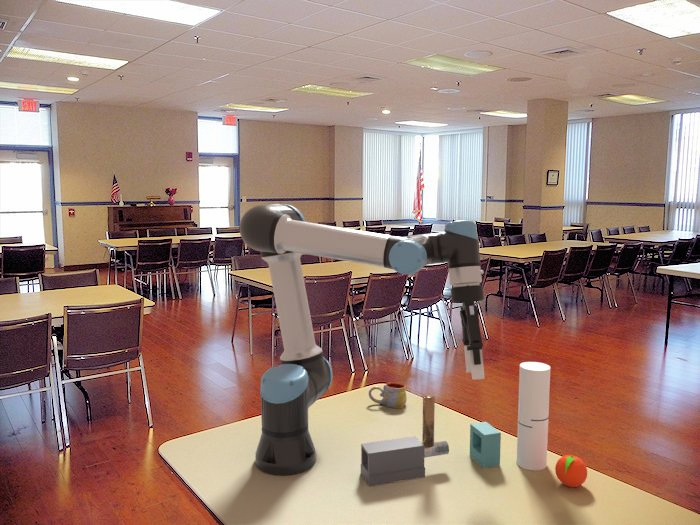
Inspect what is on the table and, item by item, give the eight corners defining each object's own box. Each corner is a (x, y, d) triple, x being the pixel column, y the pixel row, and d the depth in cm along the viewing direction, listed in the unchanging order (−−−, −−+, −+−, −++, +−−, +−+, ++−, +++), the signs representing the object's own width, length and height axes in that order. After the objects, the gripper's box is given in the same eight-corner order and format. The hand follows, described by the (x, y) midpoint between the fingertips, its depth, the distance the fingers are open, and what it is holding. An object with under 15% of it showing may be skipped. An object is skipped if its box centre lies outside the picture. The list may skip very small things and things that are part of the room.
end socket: (469, 455, 148) (470, 423, 147) (485, 453, 149) (486, 421, 148) (483, 468, 141) (484, 435, 140) (499, 465, 142) (500, 432, 141)
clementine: (580, 498, 127) (582, 467, 126) (549, 488, 131) (550, 459, 130) (590, 483, 134) (591, 454, 133) (559, 474, 138) (561, 446, 137)
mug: (407, 401, 185) (407, 381, 185) (405, 409, 179) (405, 389, 178) (370, 399, 187) (370, 380, 186) (367, 407, 181) (367, 387, 180)
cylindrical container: (548, 471, 139) (552, 371, 136) (517, 469, 140) (521, 369, 137) (544, 458, 146) (548, 362, 143) (515, 455, 147) (518, 361, 144)
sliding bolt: (374, 461, 138) (374, 400, 136) (443, 450, 143) (443, 392, 141) (379, 467, 135) (379, 405, 133) (448, 456, 140) (449, 397, 138)
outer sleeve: (360, 473, 139) (360, 442, 138) (414, 464, 143) (414, 435, 142) (369, 486, 133) (369, 454, 132) (425, 477, 137) (425, 446, 136)
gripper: (489, 282, 124) (499, 381, 123) (476, 285, 149) (484, 368, 147) (454, 285, 125) (463, 383, 123) (447, 288, 150) (454, 370, 148)
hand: (475, 375), depth 135 cm, fingers open, 13 cm apart
